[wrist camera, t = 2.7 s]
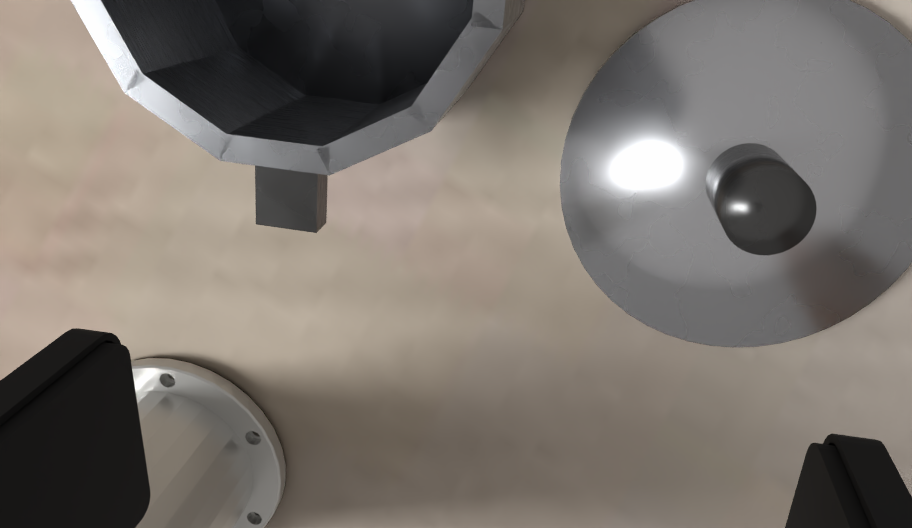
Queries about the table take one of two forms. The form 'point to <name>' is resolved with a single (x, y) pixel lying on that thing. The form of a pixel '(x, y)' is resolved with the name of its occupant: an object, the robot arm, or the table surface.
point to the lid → (745, 169)
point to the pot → (297, 79)
